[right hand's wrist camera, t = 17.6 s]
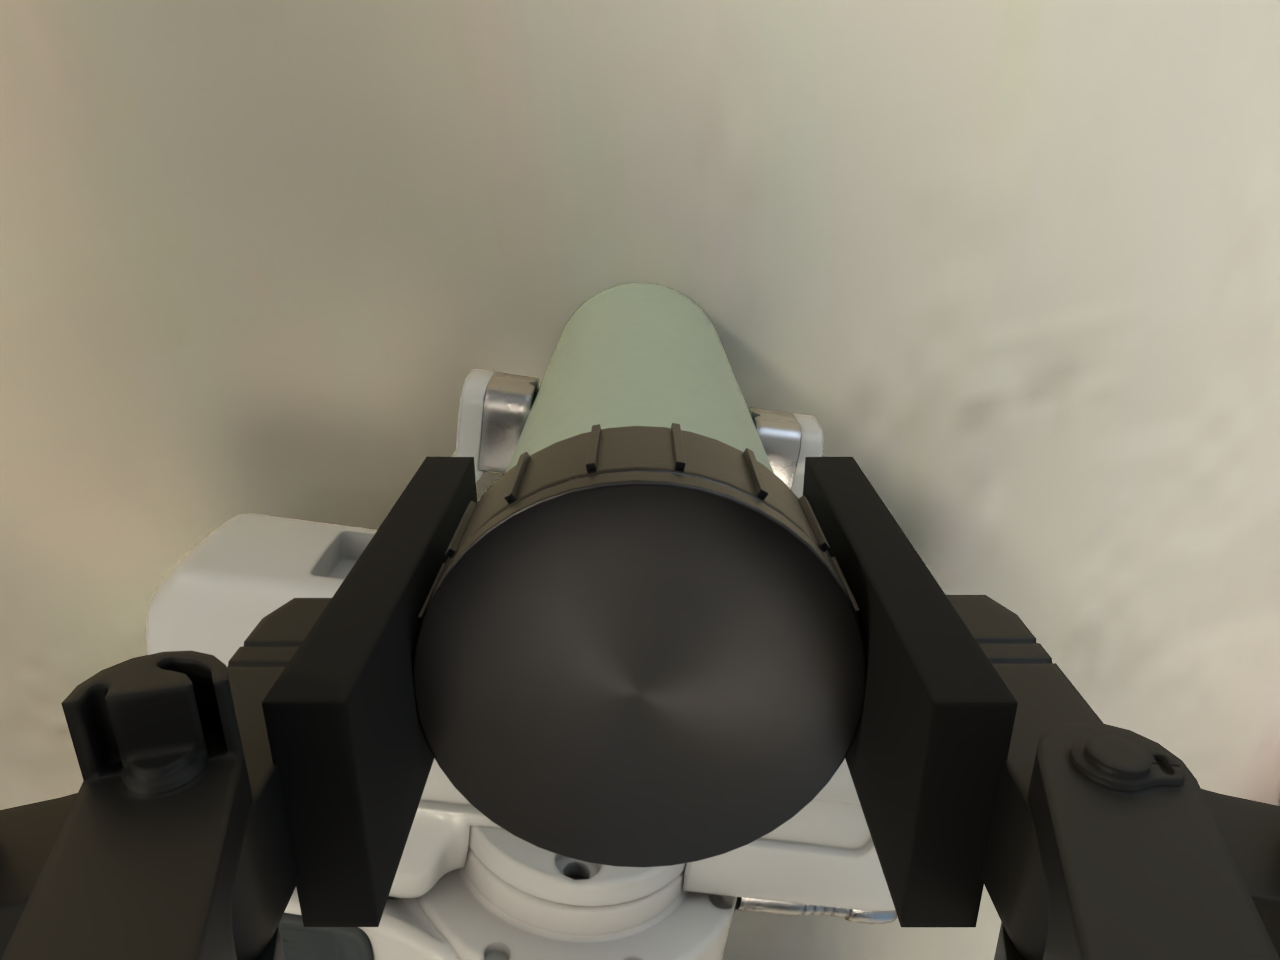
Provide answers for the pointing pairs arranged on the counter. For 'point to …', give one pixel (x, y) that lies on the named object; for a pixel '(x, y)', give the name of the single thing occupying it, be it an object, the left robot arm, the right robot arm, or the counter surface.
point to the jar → (639, 373)
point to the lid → (639, 650)
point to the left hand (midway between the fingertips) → (643, 397)
